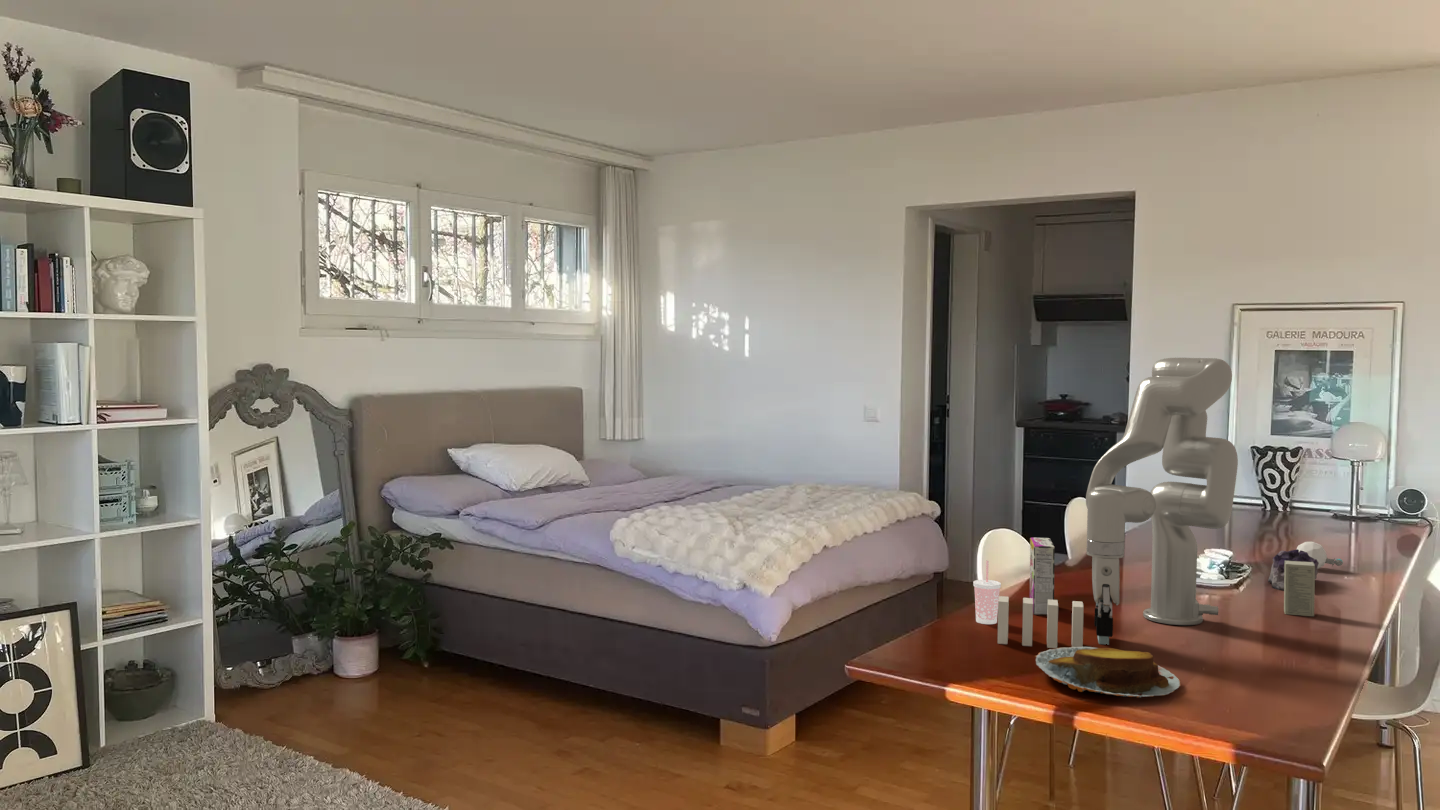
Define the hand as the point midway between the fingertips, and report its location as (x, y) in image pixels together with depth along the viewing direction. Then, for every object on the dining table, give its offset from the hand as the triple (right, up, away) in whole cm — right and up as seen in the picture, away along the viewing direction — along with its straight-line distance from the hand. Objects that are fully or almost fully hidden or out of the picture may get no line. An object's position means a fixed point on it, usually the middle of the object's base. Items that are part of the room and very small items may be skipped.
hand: (1103, 630), depth 225 cm
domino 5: (0, -2, 0) cm, 2 cm away
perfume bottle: (+87, +1, +72) cm, 113 cm away
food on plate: (-9, -4, -26) cm, 28 cm away
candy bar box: (-5, -1, +27) cm, 27 cm away
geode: (+70, 0, +54) cm, 88 cm away
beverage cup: (-21, -1, +16) cm, 26 cm away
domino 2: (-17, -2, -1) cm, 17 cm away
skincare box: (+54, -1, +24) cm, 59 cm away
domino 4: (-7, -2, -4) cm, 8 cm away
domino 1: (-21, -2, 0) cm, 21 cm away
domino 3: (-12, -2, -3) cm, 12 cm away
